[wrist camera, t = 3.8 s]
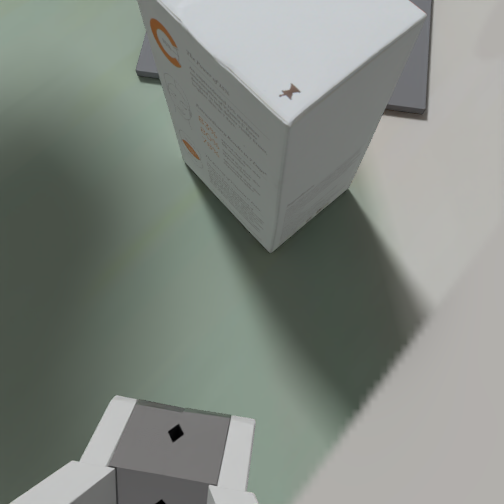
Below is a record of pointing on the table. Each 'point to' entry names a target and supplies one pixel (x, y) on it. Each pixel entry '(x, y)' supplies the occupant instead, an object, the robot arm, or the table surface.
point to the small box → (278, 96)
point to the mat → (408, 85)
